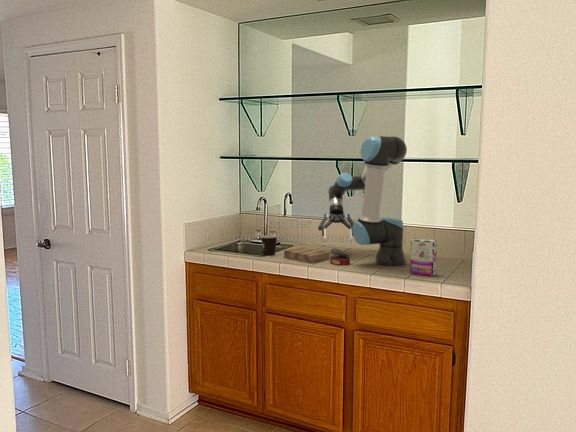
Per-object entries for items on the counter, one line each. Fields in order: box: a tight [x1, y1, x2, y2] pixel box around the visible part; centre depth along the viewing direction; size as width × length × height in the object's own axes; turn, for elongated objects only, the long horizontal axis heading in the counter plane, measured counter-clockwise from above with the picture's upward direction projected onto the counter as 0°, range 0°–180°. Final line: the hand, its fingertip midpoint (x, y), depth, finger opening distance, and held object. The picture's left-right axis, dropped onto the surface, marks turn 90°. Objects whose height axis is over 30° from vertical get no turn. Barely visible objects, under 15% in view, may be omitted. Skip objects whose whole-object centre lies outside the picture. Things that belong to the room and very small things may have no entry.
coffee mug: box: [260, 234, 278, 257], centre depth 289 cm, size 12×9×10 cm
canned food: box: [330, 248, 351, 266], centre depth 266 cm, size 11×10×10 cm
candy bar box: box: [409, 238, 438, 277], centre depth 242 cm, size 11×5×16 cm, turn 56°
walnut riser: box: [283, 246, 330, 264], centre depth 277 cm, size 20×14×4 cm
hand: (338, 240), depth 271 cm, fingers open, 13 cm apart
